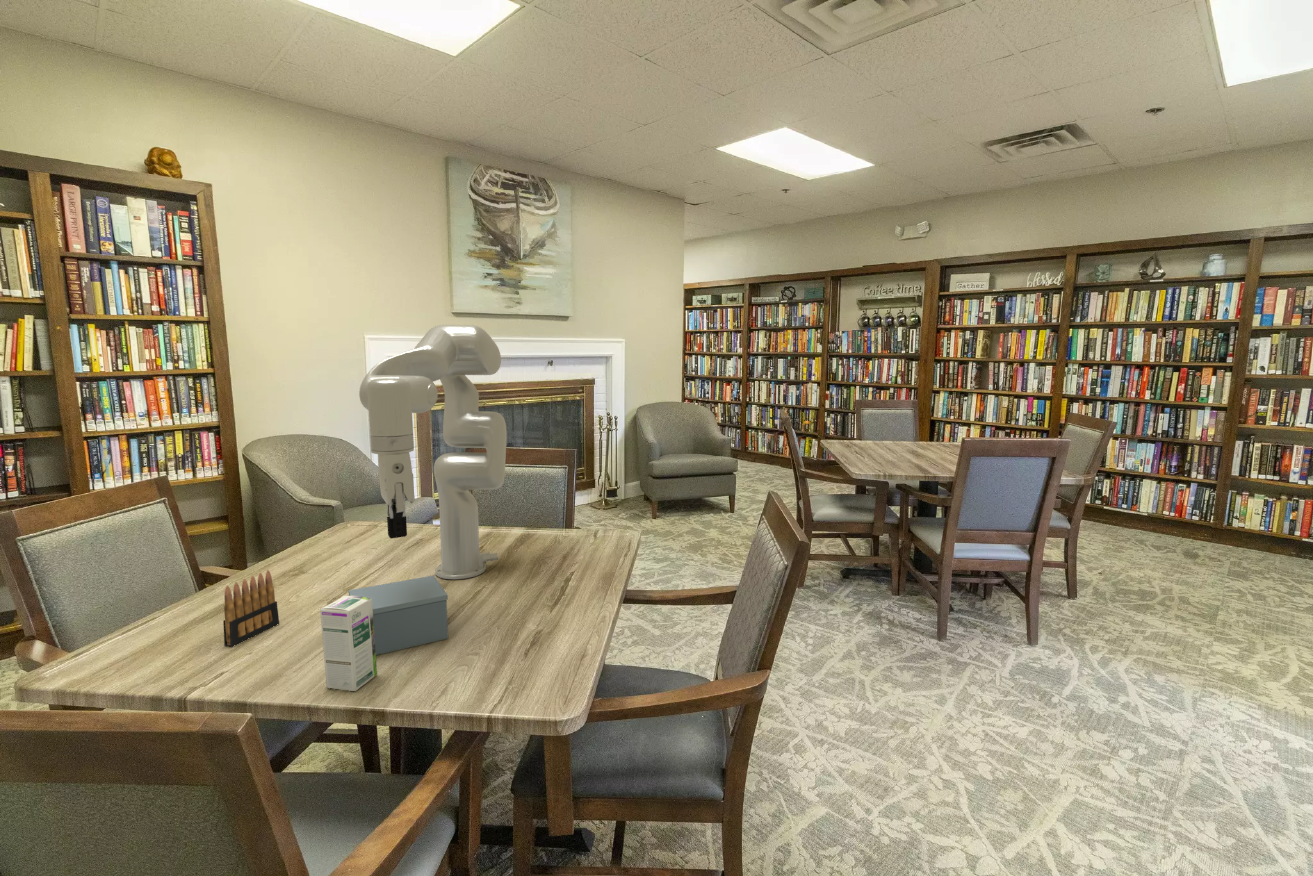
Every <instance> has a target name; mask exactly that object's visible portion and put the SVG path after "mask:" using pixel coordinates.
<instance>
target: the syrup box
mask: <svg viewBox="0 0 1313 876" xmlns="http://www.w3.org/2000/svg"><path fill="white" fill-rule="evenodd" d="M319 613H320V625H321V626H320V627H321V637H322V648H323V649H322V650H323V657H324V658H323V660H324V673H325V674H324V675H325V684H326V685H325V686H326V688H327V689H330V688H334V689H333V690H335V689H340V690H339V691H342V690H349V691H348V692H350V691H356V690H357V691H358V690H359V689H360V688H361V687H363V686H364V685H365V684H367V683H368V682H370V681H371V680H372V679H373V678H375V677H376V676H377V675H378V671H377V670H378V667H377V666H378V665H377V655H376V652H375V637H374V623H373V610H372V599H371V598H368V597H363V596H349V595H343V596H342V597H341V598H339V599H337V600H335V601H334V602H331V603H329V604H327V605H325V606H323V607H321V608H320V610H319ZM357 691H356V692H357Z"/></svg>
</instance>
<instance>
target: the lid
mask: <svg viewBox="0 0 1313 876" xmlns="http://www.w3.org/2000/svg"><path fill="white" fill-rule="evenodd" d="M348 596H363V597H368V598H371V599H372V610H373V614H378V613H383V612H388V611H393V610H398V609H403V608H408V607H413V606H418V605H423V604H428V603H433V602H438V601H443V600H448V599H449V598H448V597H449V596H448V593H447V592H446V590H445V588H443V586H442V585H441V584H440V582H439V581H438V579H437V578H436V576H435V575H427V576H422V577H421V576H420V577H416V578H411V579H406V580H399V581H394V582H388V583H383V584H376V585H372V586H366V587H359V588H354V589H349V590H348Z"/></svg>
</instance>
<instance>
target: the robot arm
mask: <svg viewBox="0 0 1313 876" xmlns="http://www.w3.org/2000/svg"><path fill="white" fill-rule="evenodd" d="M501 363H502V356H501V351H500V349H499V347H498V345H497V343H496V342H495V341H494V339H493V338H492V337H491V336H490V334H489V333H488V332H487V331H486V330H485V329H483V328H482V327H481V326H478V325H473V324H471V325H470V324H440V325H435V326H433V327H431V328H430V329H429V330H427V332H426V333H425V335H424V336H423V337H422V338H421V339H420V340H419V342H418V343H417V344H416V346H414V348H412V349H409V350H406V351H403V352H401V353H398V354H396V355H393V356H391V357H388V358H385V359H383V360H381V361H379V362H378V363H376V364H375V365H374V366H373V367H372V368H370V370H369V371H368V372H367V374H366V375H365V376H364V378H363V380H362V382H361V384H360V387H359V393H358V394H359V396H358V397H359V401H360V404H361V405H362V406H363V408H365V410H368V422H369V439H370V440H369V441H370V453H371V454H374V455H377V463H378V480H379V487H380V489H379V491H380V495H381V498H382V499H383V500H384V502H385V503H386V510H387V511H386V513H387V516H386V520H387V521H386V523H387V535H388V537H389V539H390V540H391V539H398V538H405V537H407V536H408V527H407V525H408V524H407V515H406V500H407V502H409V503H410V504H414V502H415V501H416V499H415V488H414V486H415V485H414V478H413V466H412V460H411V454H410V453H411V452H413V451H414V450H415V443H414V442H415V441H414V424H413V414H422V413H427V412H429V411H430V410H431V409H433V408H434V407H435V405H436V403H437V401H438V388H437V386H436V384H435V382H436V381H439V380H440V383H441V385H442V388H443V392H444V404H443V405H444V407H443V410H444V411H443V425H442V426H443V427H442V435H443V441H444V443H445V444H446V445H447V446H449V447H452V448H465V449H466V448H467V449H468V448H469V449H470V448H471V449H472V448H474V449H475V448H476V449H486V452H469V451H467V452H466V451H465V452H464V451H463V452H462V451H461V452H458V451H457V452H455V451H454V452H447V453H443V454H441V455H439V456H438V457H437V459H436V460H435V462H434V464H433V465H434V466H433V474H434V476H433V477H434V481H435V483H436V488H437V494H438V495H437V496H438V503H439V504H438V507H439V533H440V555H441V556H440V557H441V559H440V560H441V564H440V565H438V566H437V567H436V568H435V575H436V576H437V577H438V578H440V579H445V580H464V579H469V578H474V577H477V576H479V575H481V574H483V573H484V572H486V570H487V566H486V564H487V562H493V561H494V562H495V561H498V559H499V558H498V557H499V555H498V552H494V553H491V552H490V551H487V552H483V553H482V552H481V550H480V535H479V533H480V532H479V529H480V527H479V506H478V502H477V500H476V498H475V497H474V495H473V494H472V492H471V490H472V491H473V490H475V491H478V490H479V491H480V490H483V491H484V490H486V491H488V490H490V491H491V490H498V489H499V488H501V487H502V486H503V484H504V481H505V476H506V459H507V457H506V455H507V432H508V431H507V423H506V421H505V420H506V419H505V418H504V416H503V415H502V414H501V413H500V412H497V411H488V410H487V411H480V410H479V406H480V405H479V401H480V400H479V399H480V394H479V393H480V392H479V391H478V390H477V388H476V385H474V383H473V382H472V381H471V380H470V379H469V377H467V376H491V375H495V374H496V373H498V371H499V370H500V367H501Z"/></svg>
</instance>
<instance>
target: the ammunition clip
mask: <svg viewBox="0 0 1313 876" xmlns="http://www.w3.org/2000/svg"><path fill="white" fill-rule="evenodd" d="M257 576H258V577H257V581H256V578H255V577H254V575H251V578H250V581H249V583H248V581H247V580H246V578H244V579H243V581H242V583H241V588H240V586H239V585H240V584H239V583H238V582H237V581H236V582H234V585H233V588H232V589H233V591H232V590H231V588H230V586H229V585H226V586H225V589H224V606H223V611H224V612H223V613H224V620H223V643H224V644H223V646H224V647H229V648H233V646H234V645H236V646H237V644H238V645H239V643H240V644H242V643H244V642H246V641H248V640H249V639H248V638H250V639H252V638H254V637H256V636H258V635H260V634H262V633H264V632H266V631H268V630H270V629H272V628H274V627H273V626H275V627H277V626H278V625H277V624H279V625H280V619H279V610H278V609H279V608H278V602H277V600H276V598H275V597H276V596H275V589H274V586H273V585H274V584H273V577H272V573H271V572H270V570H269V569H268V570H266V572H265V577H264V575H263V574H262V573H261V572H260V573H259V574H258V575H257ZM232 592H233V593H232ZM276 625H277V626H276ZM263 631H264V632H263ZM259 633H260V634H259ZM255 635H256V636H255ZM251 637H252V638H251ZM247 639H248V640H247ZM245 640H246V641H245ZM243 641H244V642H243ZM241 642H242V643H241ZM234 647H235V646H234Z"/></svg>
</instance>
